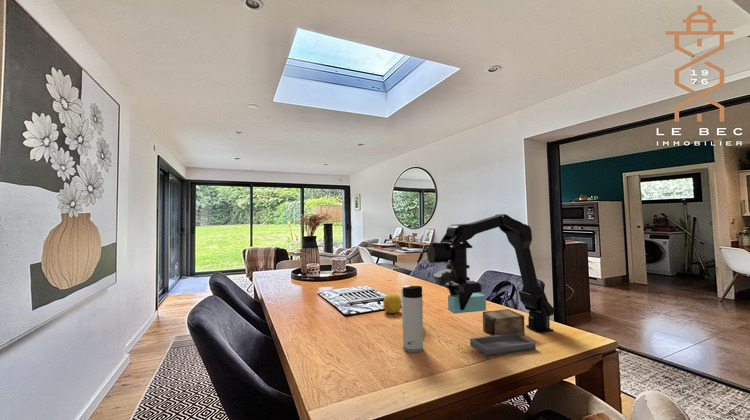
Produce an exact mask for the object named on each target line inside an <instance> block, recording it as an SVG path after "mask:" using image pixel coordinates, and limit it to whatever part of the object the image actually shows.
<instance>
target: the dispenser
mask: <svg viewBox="0 0 750 420" xmlns="http://www.w3.org/2000/svg"><path fill="white" fill-rule="evenodd" d="M482 331H483V333H492V332H494V335H502V334H510V333H518V334H519V335H521V336H523V337H526V336H525V334H526V333H525V332H526V331H525V315H523V314H521V313H519V312H517V311H514V310H511V309H498V310H497V309H496V310H489V311H487V310H486V311H482Z"/></svg>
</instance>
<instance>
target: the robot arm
mask: <svg viewBox="0 0 750 420" xmlns="http://www.w3.org/2000/svg"><path fill="white" fill-rule="evenodd" d="M496 228H498V229H499V230H500V231H501V232H502V233H504V234H505V235H506V237H507V240H508V243H509V244H510V245H511V246H512V247H513V248H514V251H515V256H516V260H517V265H518V269H519V272H520V276H521V281H522V288H521V290H519V291H518V295H519V301H520V302H521V303H522V304H523V306H524V309H525V310H526V311H528V317H527V318H528V319H527V320H528V322H527V323H528V324H526V325H525V327H526V328H529V329H530V330H532V331H534V332H536V333H540V334H541V333H548V332H554V329H553V328H551V327H550V317H551V316H554V314H555V310H556V309H555V308H554V307H553V306H552V304H550V302H549V300H548V298H547V295H546V293H545V290H543V289H542V287H541V286H540V284H539V283H538V278H537V274H536V271H535V265H534V260H533V257H532V252H531V247H530V246H531V244H532V241H533V234H532V232H533V231H532V227H531V226H529V225H528V224H525V223H523V222H521V221H519V220H517V219H515V218H512V217H511V216H509V215H507V214H505V213H502V214H501V213H499V214H495V215H493V216H490V217H489V216H488V217H487V218H482V219H479V220H476V221H473V222H469V223H459V224H458V223H457V224H450V225H448V226H447V229H446V231H445V232H446V233H445V234H444V235H443V237H442V238H441V240H440V242H433V241H432V242H430V243H429V246H428V248H427V251H426V256H427V257H426V258H427V260H428V262H429V263H430V264H443V263H447V264H446V267H445V269H442V270H439V271H438V272H435V273H434V274H432V276H433V278H434V282H435V284H436V285H438V286H441V287H443V286H444V287H445V288H446V289H447V290H448V291H449V294H450V295H459V303H460V309H461V310H464V309H465V307H466V305H467V303H468V300H469V299H470V297H471V295H472V293H482V292H483V291H482V289H483V288H482V284H481V283H480V282H477V281H474V280H470V277H469V276H468V269H470V265H469V264H468V262H467V261H468V256H467V254H468V253H467V251H468V250H467V249H473V245H471V244H470V243H469V241H468V240H471V239H472V238H473V237H475V236H476V235H478V234H480V233H484V232H487V231H490V230H493V229H496Z"/></svg>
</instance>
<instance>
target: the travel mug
mask: <svg viewBox="0 0 750 420" xmlns="http://www.w3.org/2000/svg"><path fill="white" fill-rule="evenodd" d="M409 286H410V287H403V286H402V287H403V326H402V345H403V346H402V348H403V350H404V351H406V352H407V353H413V354H415V353H416V354H417V353H420V352H422V351H423V350H424V327H423V326H424V324H423V323H424V320H423V319H424V316H423V314H424V312H423V311H424V310H423V308H424V307H423V306H424V305H423V286H421V285H409Z"/></svg>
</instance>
